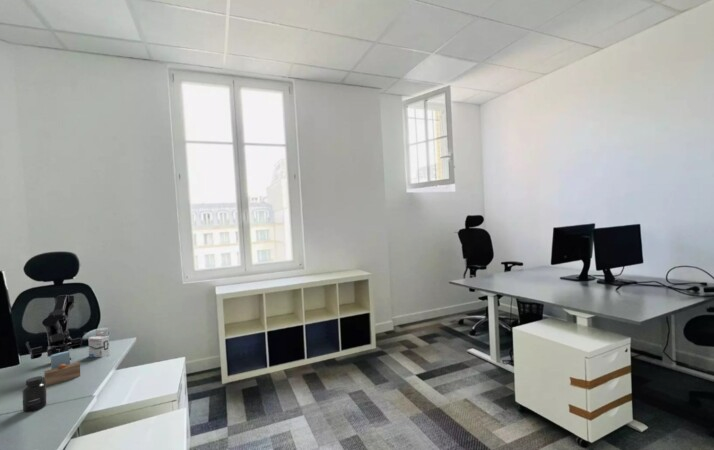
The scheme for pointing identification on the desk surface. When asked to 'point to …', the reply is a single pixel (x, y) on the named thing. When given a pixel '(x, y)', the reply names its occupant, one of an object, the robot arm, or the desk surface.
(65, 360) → the blue white block
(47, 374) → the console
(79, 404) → the desk surface
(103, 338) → the ink box
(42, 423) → the desk surface
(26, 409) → the supplement bottle
